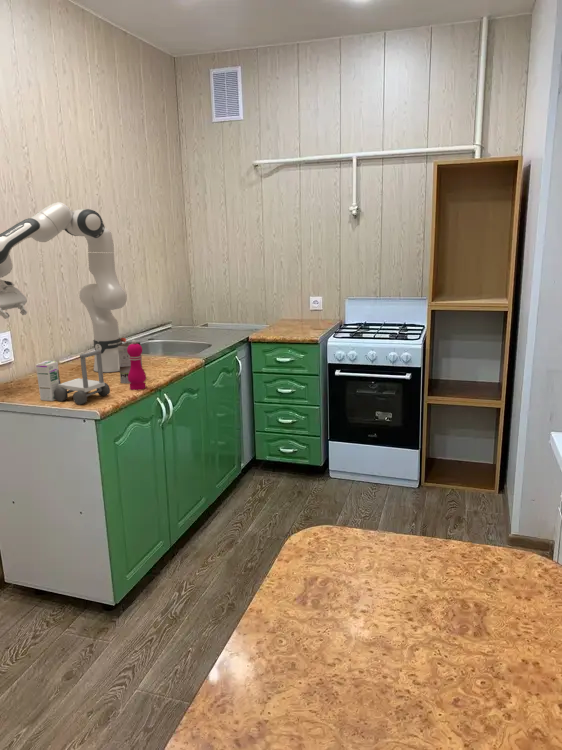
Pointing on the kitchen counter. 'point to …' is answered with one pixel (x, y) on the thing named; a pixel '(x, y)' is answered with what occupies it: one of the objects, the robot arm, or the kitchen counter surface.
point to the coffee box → (124, 361)
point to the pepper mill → (136, 367)
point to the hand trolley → (83, 383)
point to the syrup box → (48, 379)
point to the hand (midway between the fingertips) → (16, 315)
